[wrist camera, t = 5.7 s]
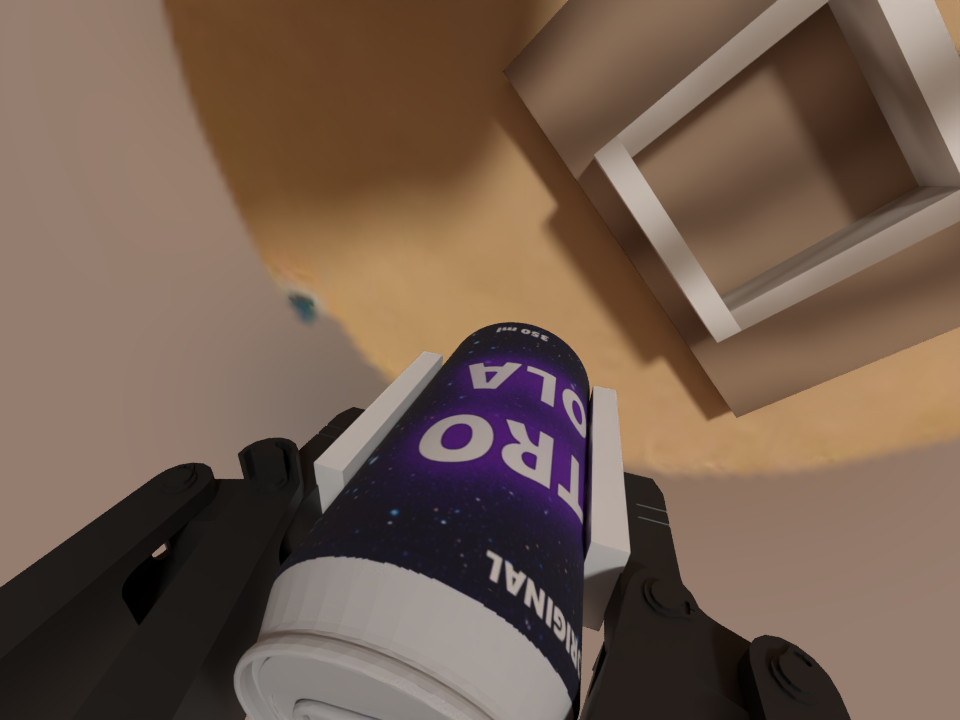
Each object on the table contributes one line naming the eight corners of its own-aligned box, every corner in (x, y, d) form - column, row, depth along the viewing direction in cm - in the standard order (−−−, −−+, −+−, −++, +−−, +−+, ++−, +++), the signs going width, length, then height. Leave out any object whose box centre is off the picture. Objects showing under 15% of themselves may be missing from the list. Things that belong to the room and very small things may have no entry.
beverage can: (591, 438, 16) (582, 907, 6) (465, 432, 18) (284, 787, 8) (588, 310, 14) (566, 701, 4) (445, 317, 16) (146, 596, 5)
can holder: (508, 78, 21) (491, 57, 18) (791, -223, 15) (852, -351, 11) (729, 405, 25) (750, 441, 22) (1025, 279, 19) (1123, 301, 15)
